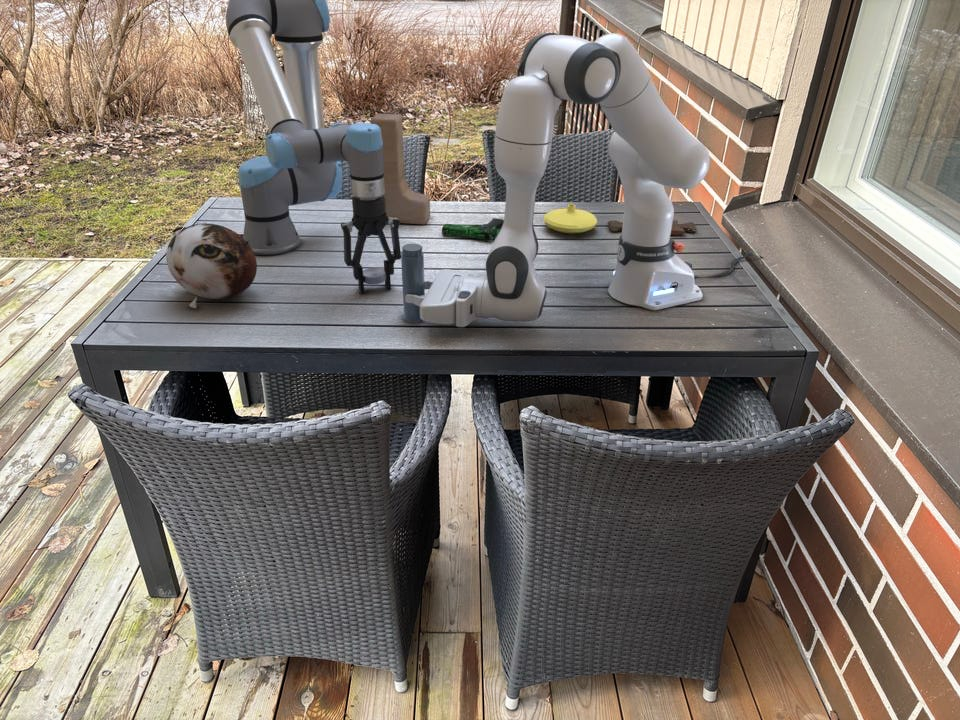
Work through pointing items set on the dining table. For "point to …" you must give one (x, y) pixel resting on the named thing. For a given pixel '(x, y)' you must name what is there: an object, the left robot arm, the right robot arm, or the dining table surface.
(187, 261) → the cat face balloon
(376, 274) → the lid
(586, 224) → the yellow knobbed disc
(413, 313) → the grey cylinder
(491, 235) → the handgun
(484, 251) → the dining table surface
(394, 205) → the decorative block
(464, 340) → the dining table surface
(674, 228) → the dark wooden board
